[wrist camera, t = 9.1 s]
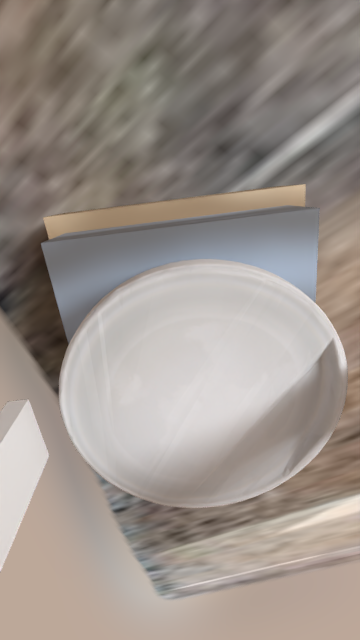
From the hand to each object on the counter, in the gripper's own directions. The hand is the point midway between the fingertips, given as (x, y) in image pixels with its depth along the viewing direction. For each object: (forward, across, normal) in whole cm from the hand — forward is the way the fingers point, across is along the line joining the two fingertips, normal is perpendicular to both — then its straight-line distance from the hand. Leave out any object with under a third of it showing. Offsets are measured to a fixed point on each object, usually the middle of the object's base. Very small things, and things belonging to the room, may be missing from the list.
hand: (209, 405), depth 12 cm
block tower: (+13, 0, -1) cm, 13 cm away
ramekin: (+6, 0, 0) cm, 6 cm away
